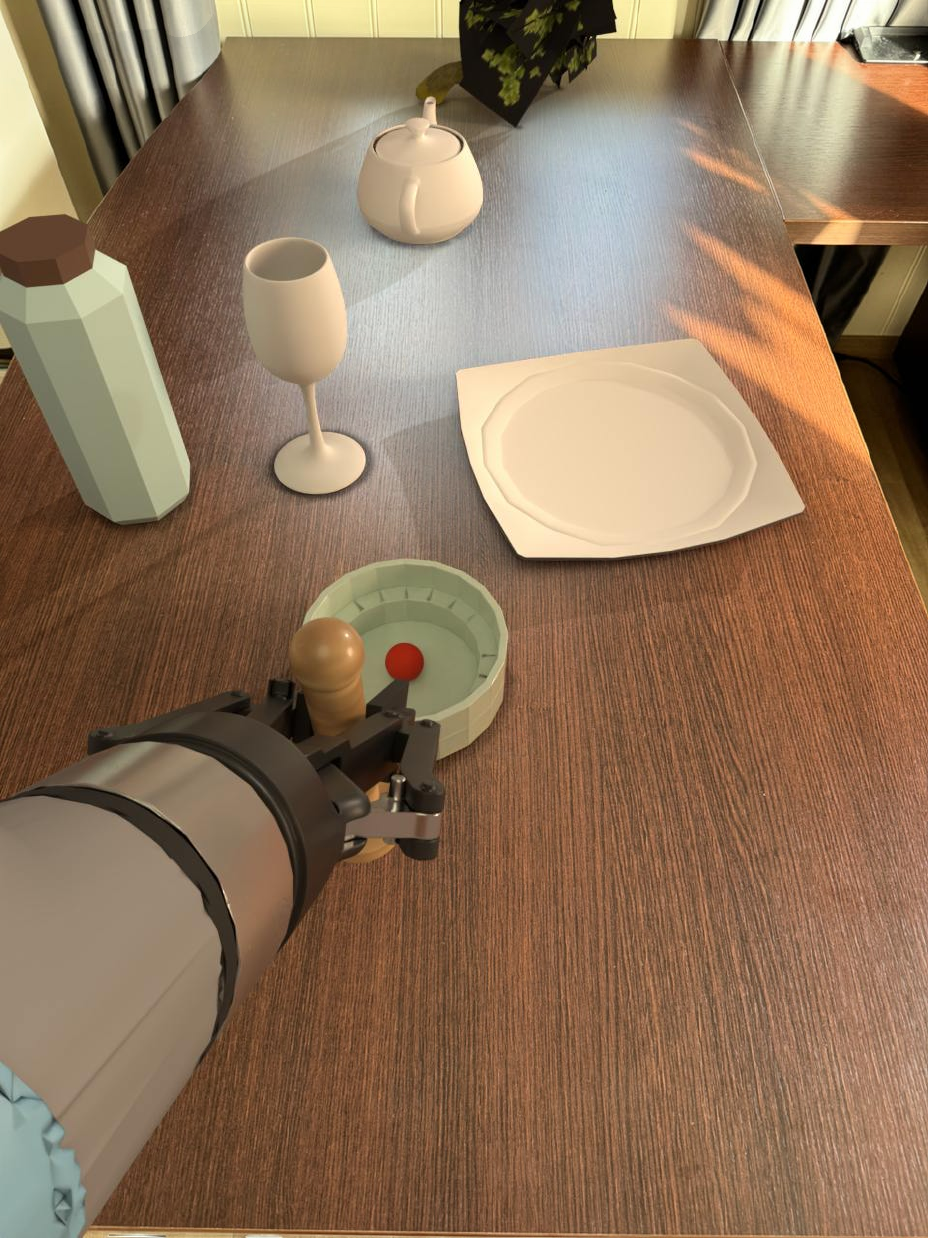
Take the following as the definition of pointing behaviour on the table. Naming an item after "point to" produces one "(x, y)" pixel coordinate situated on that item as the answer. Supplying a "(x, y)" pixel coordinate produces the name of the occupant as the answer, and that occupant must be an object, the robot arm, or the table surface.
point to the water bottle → (92, 368)
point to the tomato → (404, 661)
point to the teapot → (419, 181)
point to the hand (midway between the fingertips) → (369, 700)
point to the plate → (619, 453)
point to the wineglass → (301, 351)
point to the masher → (334, 692)
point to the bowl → (427, 640)
